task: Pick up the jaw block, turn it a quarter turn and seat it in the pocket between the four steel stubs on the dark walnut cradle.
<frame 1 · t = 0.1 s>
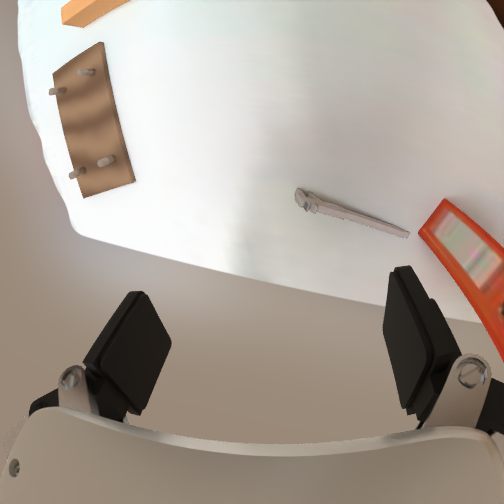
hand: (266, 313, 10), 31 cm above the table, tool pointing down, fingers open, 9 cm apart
cradle: (90, 120, 36), on the table
caliper: (356, 212, 40), on the table
jaw block: (109, 3, 25), on the table
file binder: (456, 240, 39), on the table
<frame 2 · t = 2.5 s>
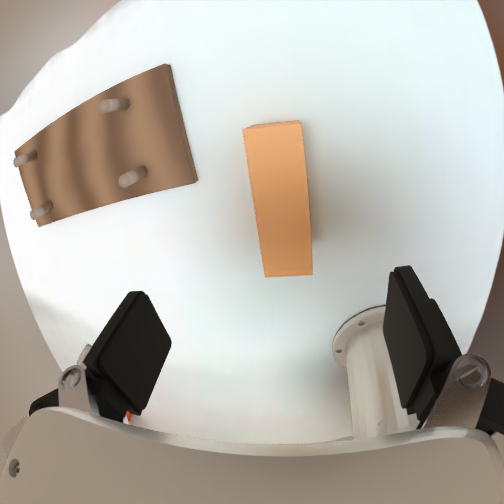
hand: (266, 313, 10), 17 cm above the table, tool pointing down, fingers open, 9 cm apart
cradle: (85, 158, 25), on the table
caliper: (97, 368, 50), on the table
jaw block: (283, 185, 25), on the table
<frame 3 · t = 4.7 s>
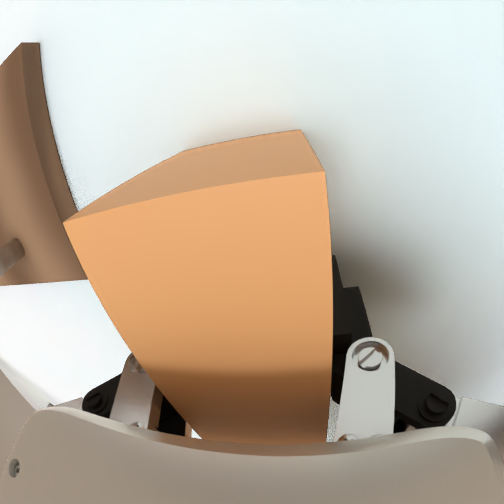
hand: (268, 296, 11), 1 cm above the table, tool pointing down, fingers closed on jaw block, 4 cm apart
jaw block: (269, 287, 11), on the table, touching gripper
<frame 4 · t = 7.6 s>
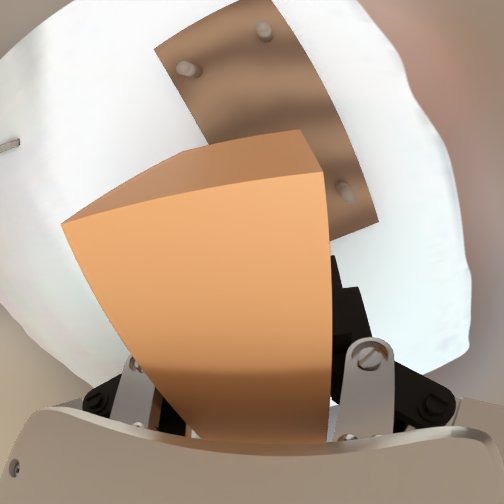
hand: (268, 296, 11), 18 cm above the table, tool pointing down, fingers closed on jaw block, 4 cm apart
cradle: (271, 124, 24), on the table
jaw block: (269, 288, 11), point 17 cm above the table, touching gripper
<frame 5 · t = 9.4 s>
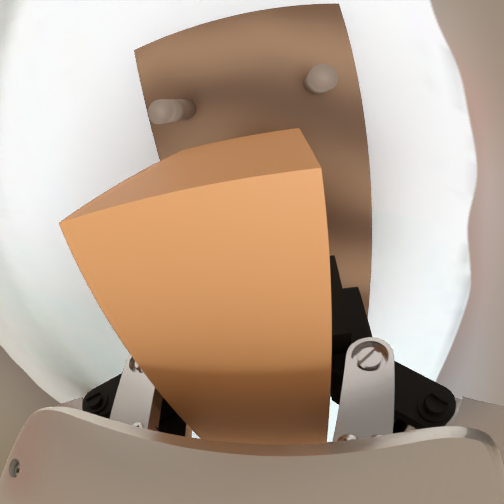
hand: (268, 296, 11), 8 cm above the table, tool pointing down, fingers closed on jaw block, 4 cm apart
cradle: (275, 219, 18), on the table
jaw block: (269, 287, 11), point 7 cm above the table, touching gripper
when the fingers open (3 cm above the table, at t = 10.7 s): jaw block stays where it is, resting on cradle.
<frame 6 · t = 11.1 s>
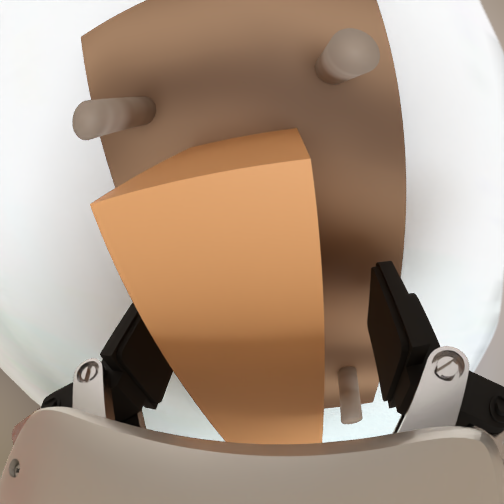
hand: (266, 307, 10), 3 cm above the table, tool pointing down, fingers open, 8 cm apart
cradle: (272, 259, 13), on the table
jaw block: (269, 275, 12), point 1 cm above the table, touching cradle
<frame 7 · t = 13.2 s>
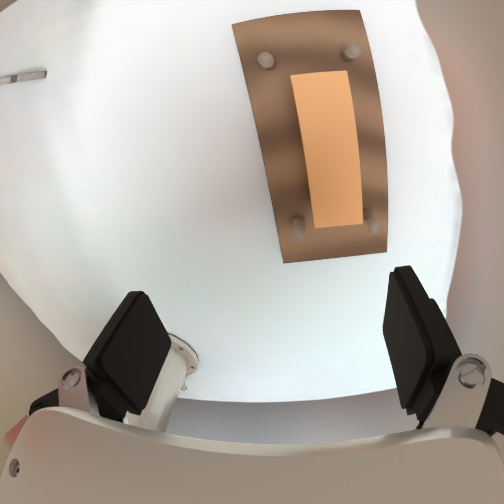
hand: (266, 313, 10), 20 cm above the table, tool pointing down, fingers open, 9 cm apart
cradle: (322, 138, 24), on the table
caliper: (14, 78, 22), on the table
jaw block: (323, 140, 23), point 1 cm above the table, touching cradle
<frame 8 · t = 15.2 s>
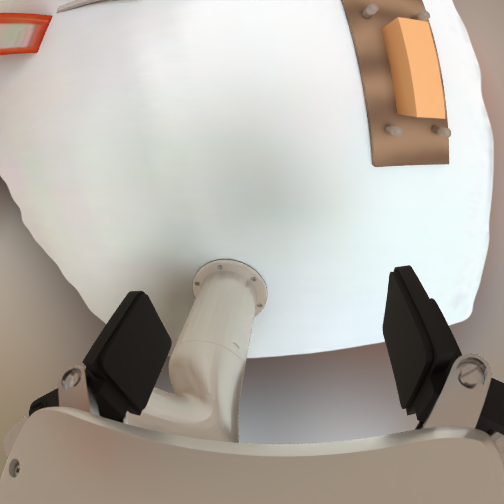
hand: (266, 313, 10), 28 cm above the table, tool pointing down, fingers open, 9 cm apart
cradle: (401, 71, 25), on the table
caliper: (97, 2, 22), on the table
jaw block: (404, 70, 24), point 1 cm above the table, touching cradle
file binder: (25, 32, 23), on the table
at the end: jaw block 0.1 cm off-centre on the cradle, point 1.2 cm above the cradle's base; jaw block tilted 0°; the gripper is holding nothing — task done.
